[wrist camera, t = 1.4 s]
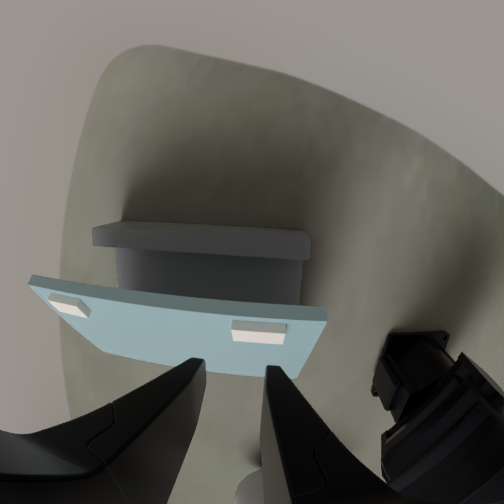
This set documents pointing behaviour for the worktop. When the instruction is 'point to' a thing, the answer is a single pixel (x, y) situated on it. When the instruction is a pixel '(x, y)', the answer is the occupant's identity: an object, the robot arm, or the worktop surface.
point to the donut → (250, 489)
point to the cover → (187, 327)
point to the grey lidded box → (208, 260)
